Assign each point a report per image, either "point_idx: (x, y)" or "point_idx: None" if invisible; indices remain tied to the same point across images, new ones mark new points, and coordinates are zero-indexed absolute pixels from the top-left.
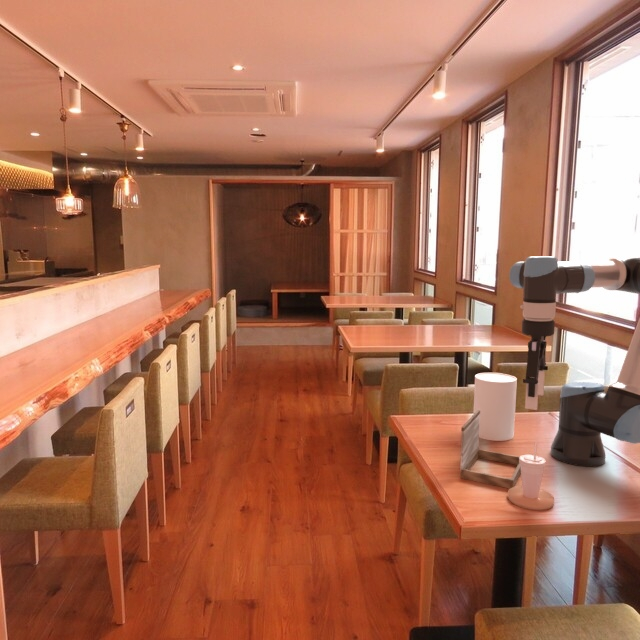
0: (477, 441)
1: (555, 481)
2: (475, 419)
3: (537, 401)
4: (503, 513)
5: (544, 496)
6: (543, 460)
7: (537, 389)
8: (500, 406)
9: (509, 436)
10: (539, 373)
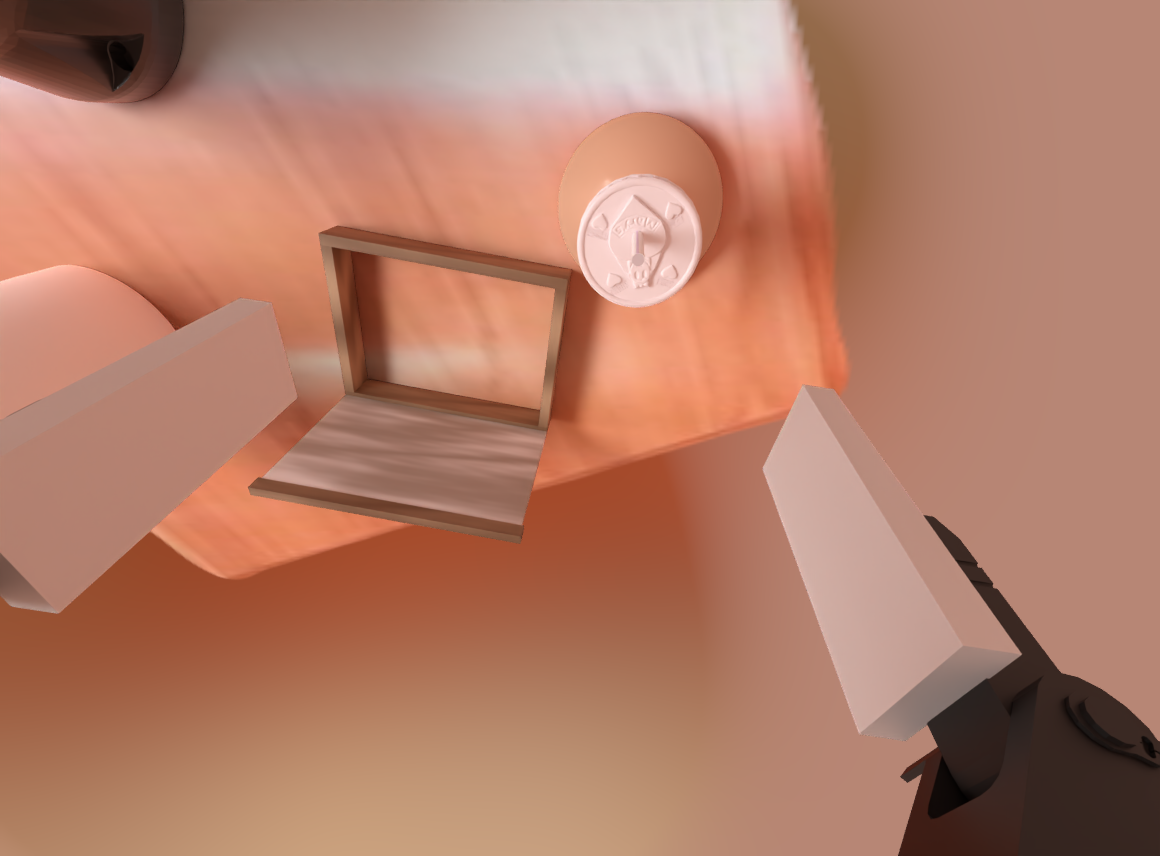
0: (345, 414)
1: (423, 93)
2: (338, 487)
3: (852, 437)
4: (763, 298)
5: (632, 154)
6: (636, 190)
7: (951, 566)
8: (21, 384)
9: (108, 286)
10: (49, 516)
